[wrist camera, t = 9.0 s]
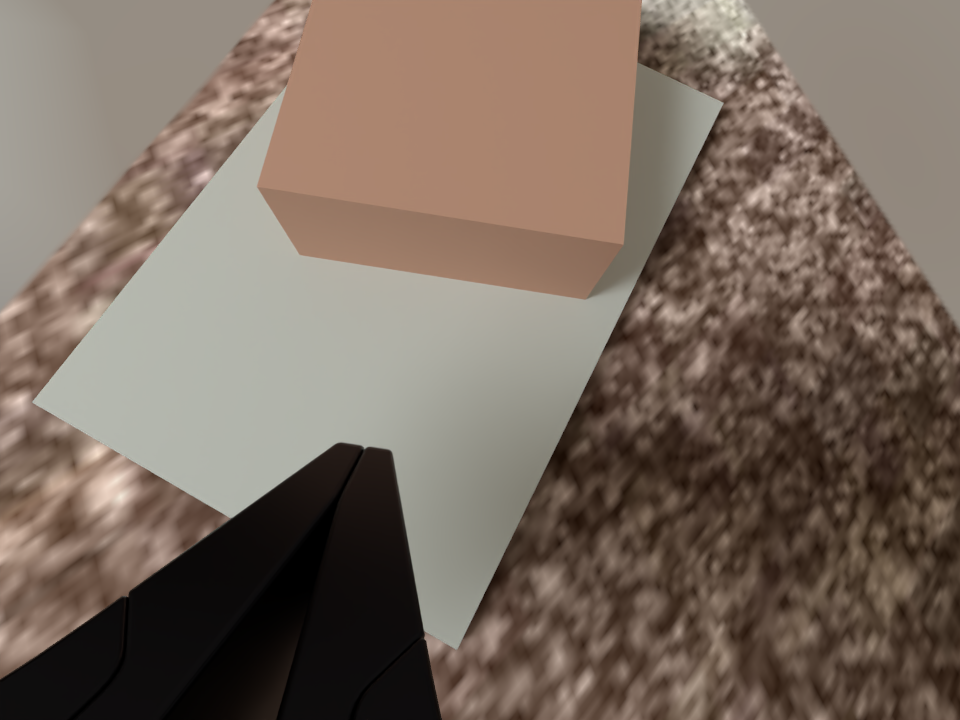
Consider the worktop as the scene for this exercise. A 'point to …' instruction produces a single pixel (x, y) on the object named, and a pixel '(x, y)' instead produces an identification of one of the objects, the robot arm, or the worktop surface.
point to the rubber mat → (362, 360)
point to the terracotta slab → (460, 138)
